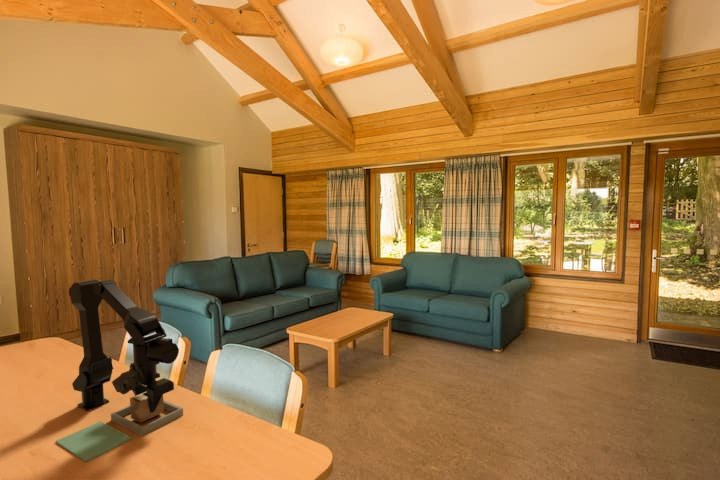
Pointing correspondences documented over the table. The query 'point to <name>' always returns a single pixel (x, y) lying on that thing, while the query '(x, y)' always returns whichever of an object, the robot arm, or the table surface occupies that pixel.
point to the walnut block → (143, 408)
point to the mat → (93, 441)
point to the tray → (140, 430)
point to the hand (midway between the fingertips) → (147, 409)
